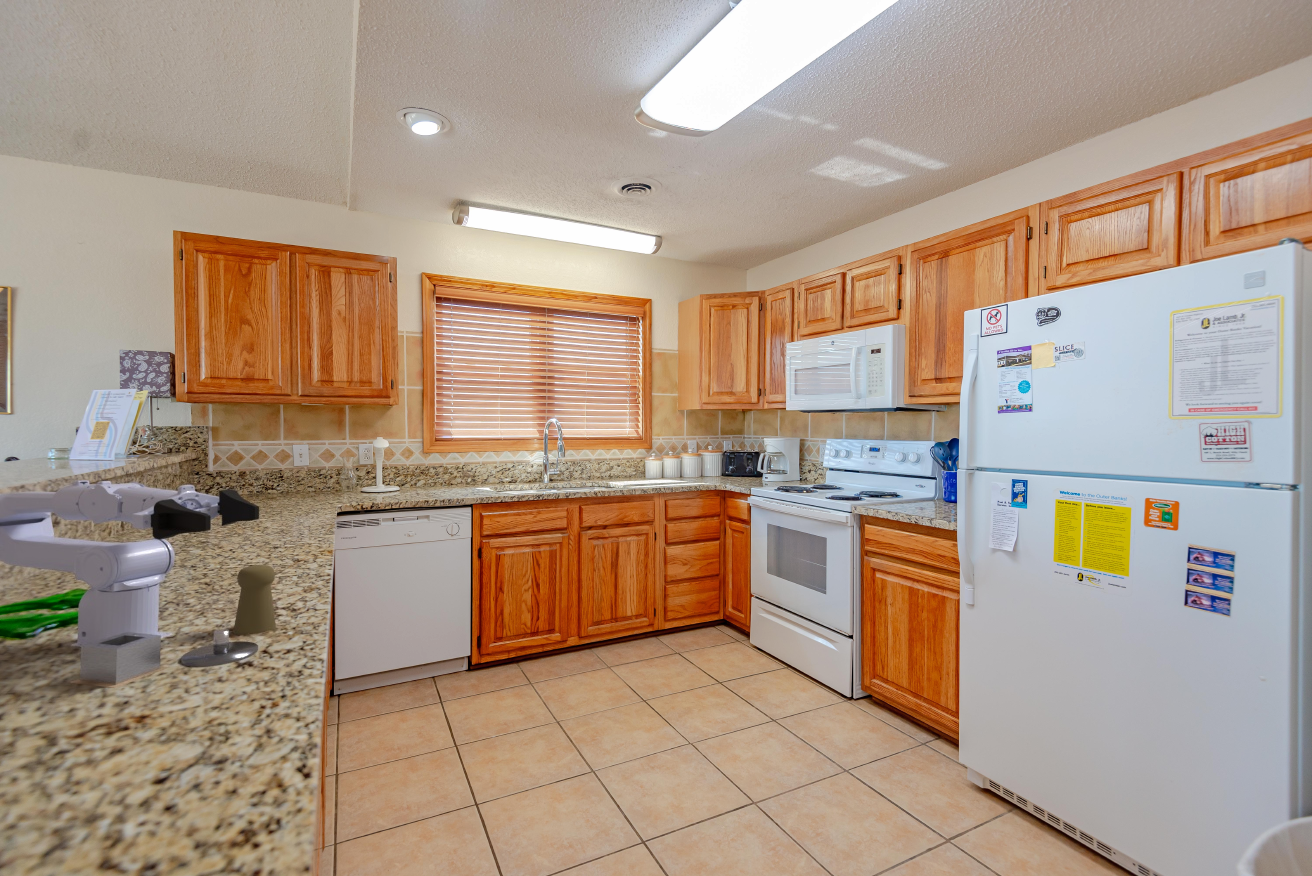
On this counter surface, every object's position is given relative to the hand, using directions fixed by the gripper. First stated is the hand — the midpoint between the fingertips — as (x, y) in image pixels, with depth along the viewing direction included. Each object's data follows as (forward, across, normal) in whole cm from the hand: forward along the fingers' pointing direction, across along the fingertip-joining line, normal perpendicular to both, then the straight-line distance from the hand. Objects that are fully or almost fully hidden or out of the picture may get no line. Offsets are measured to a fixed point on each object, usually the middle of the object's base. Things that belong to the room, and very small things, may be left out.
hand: (233, 517), depth 87 cm
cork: (-5, +8, +22) cm, 24 cm away
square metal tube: (-5, -12, +19) cm, 23 cm away
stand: (-5, -12, +20) cm, 24 cm away
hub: (0, -2, +20) cm, 20 cm away
